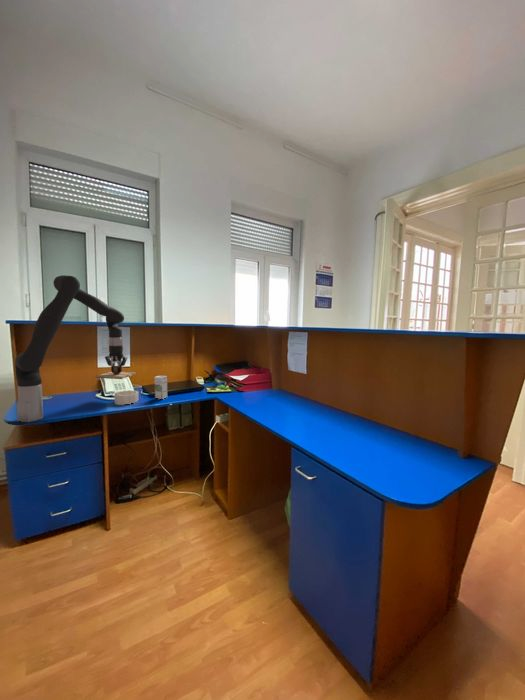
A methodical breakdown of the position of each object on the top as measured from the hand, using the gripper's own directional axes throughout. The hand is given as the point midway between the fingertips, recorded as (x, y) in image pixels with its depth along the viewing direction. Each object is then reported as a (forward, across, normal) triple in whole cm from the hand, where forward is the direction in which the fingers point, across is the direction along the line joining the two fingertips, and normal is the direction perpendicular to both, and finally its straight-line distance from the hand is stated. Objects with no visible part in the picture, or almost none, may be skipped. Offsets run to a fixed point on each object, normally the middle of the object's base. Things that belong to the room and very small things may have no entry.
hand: (116, 372), depth 179 cm
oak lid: (+2, 0, 0) cm, 2 cm away
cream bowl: (+17, +8, -2) cm, 19 cm away
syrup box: (+18, +24, +9) cm, 31 cm away
